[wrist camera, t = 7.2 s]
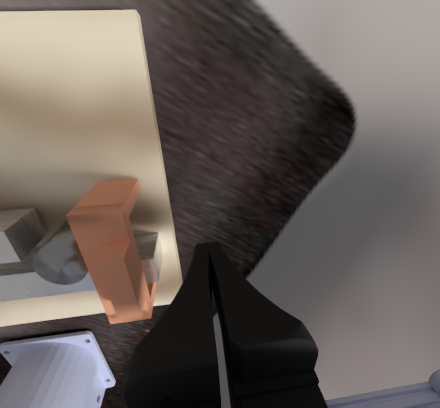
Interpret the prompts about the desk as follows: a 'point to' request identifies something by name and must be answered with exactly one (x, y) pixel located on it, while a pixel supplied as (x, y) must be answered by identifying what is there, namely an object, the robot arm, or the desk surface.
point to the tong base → (66, 267)
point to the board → (79, 134)
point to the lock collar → (113, 249)
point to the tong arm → (19, 234)
